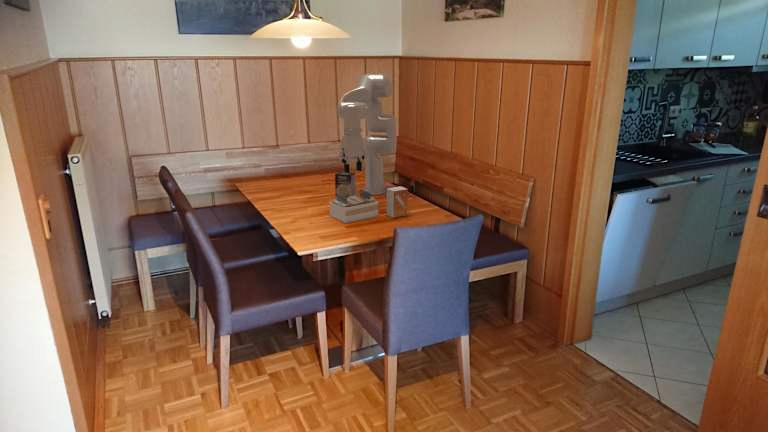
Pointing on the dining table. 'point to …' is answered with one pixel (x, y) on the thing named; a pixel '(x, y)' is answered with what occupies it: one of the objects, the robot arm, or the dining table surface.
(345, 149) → the robot arm
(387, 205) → the small box
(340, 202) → the lid panel
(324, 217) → the dining table surface
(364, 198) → the lid panel
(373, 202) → the carton
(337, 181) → the coffee box
